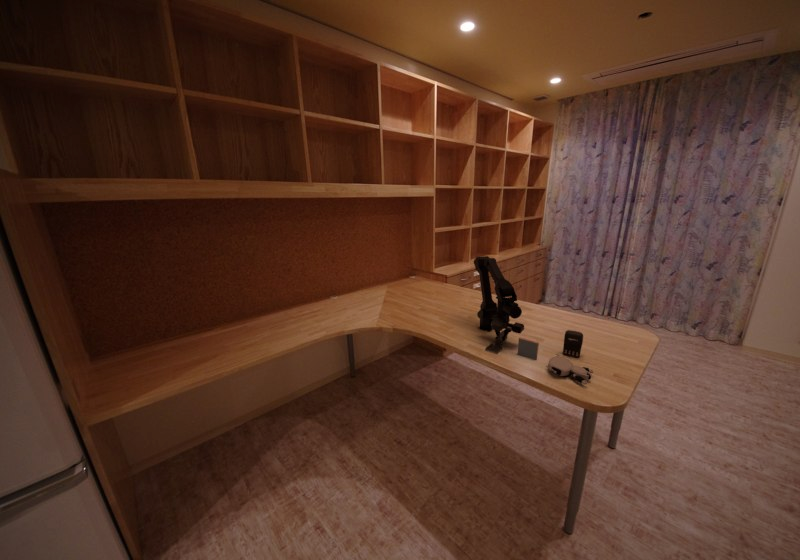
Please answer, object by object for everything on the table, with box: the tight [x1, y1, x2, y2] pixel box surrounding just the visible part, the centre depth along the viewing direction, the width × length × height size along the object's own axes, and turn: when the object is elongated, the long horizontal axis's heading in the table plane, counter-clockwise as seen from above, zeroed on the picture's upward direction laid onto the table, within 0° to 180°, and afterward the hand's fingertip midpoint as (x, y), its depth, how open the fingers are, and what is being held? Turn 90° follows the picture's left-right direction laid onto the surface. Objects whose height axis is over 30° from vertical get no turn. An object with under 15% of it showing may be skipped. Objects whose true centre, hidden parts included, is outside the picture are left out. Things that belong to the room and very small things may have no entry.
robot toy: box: [545, 353, 594, 385], centre depth 115 cm, size 12×4×15 cm
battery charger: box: [562, 329, 584, 359], centre depth 127 cm, size 7×4×11 cm, turn 57°
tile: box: [517, 336, 540, 361], centre depth 128 cm, size 8×1×8 cm, turn 50°
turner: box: [484, 329, 509, 355], centre depth 139 cm, size 6×17×4 cm, turn 141°
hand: (501, 340), depth 141 cm, fingers closed on turner, 2 cm apart
